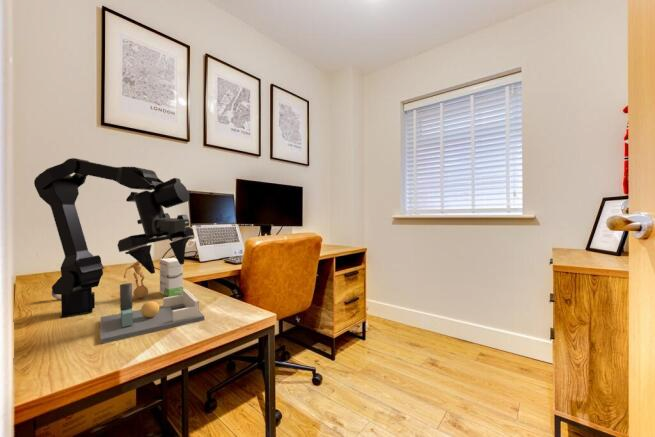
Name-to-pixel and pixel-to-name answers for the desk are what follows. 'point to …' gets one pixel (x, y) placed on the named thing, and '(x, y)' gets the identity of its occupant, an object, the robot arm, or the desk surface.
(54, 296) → the wristwatch
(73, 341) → the desk surface
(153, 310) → the ball
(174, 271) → the ink box
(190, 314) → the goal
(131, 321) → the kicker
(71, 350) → the desk surface
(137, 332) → the board
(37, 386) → the desk surface
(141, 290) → the figurine
